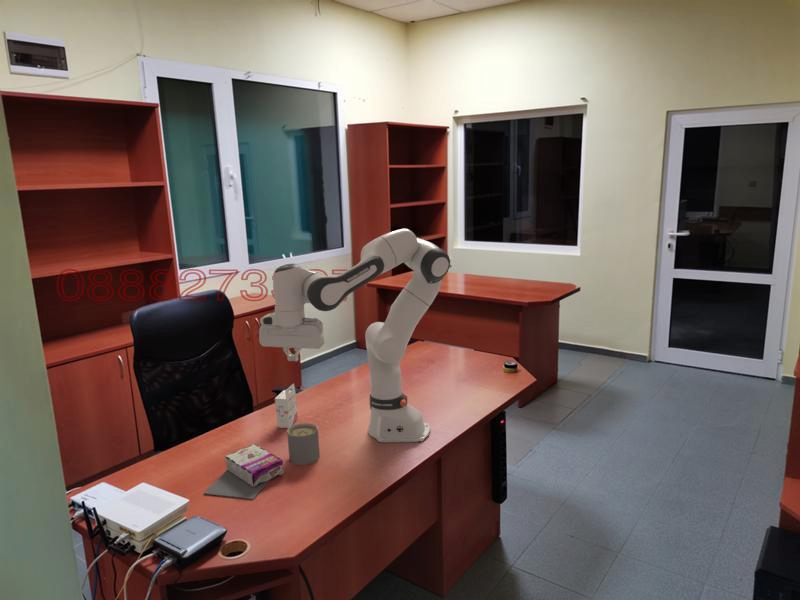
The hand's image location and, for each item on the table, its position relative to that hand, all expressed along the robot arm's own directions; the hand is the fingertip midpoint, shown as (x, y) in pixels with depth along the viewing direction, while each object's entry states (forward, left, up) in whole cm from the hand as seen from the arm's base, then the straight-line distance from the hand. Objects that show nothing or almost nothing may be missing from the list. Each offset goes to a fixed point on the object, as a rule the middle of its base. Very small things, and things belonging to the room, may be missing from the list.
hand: (293, 360), depth 175 cm
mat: (+13, +14, -35) cm, 40 cm away
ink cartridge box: (+17, -28, -35) cm, 48 cm away
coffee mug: (0, -6, -35) cm, 36 cm away
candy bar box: (+5, +13, -32) cm, 35 cm away
